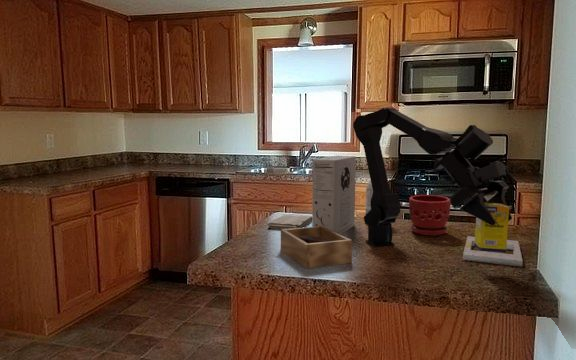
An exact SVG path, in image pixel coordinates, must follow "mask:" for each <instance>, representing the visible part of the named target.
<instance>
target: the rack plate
mask: <svg viewBox="0 0 576 360" xmlns="http://www.w3.org/2000/svg"><path fill="white" fill-rule="evenodd" d="M465 241H466V242H465V246H464V249H463V255H462V261H468V262H477V263H478V262H479V263H487V264H494V265H495V264H497V265H503V266H504V265H505V266H511V267H512V266H514V267H523V262H524V261H523V257H522V256H523V255H522V251H521V247H520V243H519V241H518V240H511V239H507V246H506V250H512V252H513V254H512V253H505V252H490V251H480V250H474V249H472V247H476V246H475V245H474V243H475V236H470V235H469V236H467V237H466V240H465Z"/></svg>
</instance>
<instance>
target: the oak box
mask: <svg viewBox="0 0 576 360" xmlns="http://www.w3.org/2000/svg"><path fill="white" fill-rule="evenodd" d="M303 235H308V236H313V237H317V238H323V239H328V240H332V241H329V242H319V243H309V244H308V243H306V242H305V241H303V240H301V239H299V238H298V237H300V236H303ZM280 251H281V252H283V253H284V254H285V255H287V256H288V257H289V258H291V259H292V260H293V261H295V262H296V263H298V264H299V265H301V266H302V267H304V269H311V268H319V267H320V268H321V267H329V266H335V265H345V264H351V263H352V262H353V259H352V258H353V240H352V239H351V238H348V237H346V236H344V235H342V234H338V233H336V232H334V231H331V230H329V229H327V228H325V227H323V226H316V227H312V226H309V227H308V226H305V227H304V228H293V229H282V230H280Z"/></svg>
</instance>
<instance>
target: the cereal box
mask: <svg viewBox="0 0 576 360" xmlns="http://www.w3.org/2000/svg"><path fill="white" fill-rule="evenodd" d="M356 158H357V157H356V156H355V155H332V156H325V157H321V158H320V157H319V158H315V159H314V158H313V159H312V194H311V195H312V197H311V198H312V199H311V200H312V201H311V202H312V203H311V205H312V209H311V210H312V211H311V213H312V215H311V216H312V222H311V223H312V224H311V227H316V226H323V227H325V228H327V229H329V230H331V231H334V232H336V233H338V234H340V235H342V234H343V233H345V232H347V231H348V230H349V229H352V228H354V227H355V223H356V222H355V219H356V218H355V217H356V216H355V214H356V206H355V205H356V204H355V203H356V168H357V166H356V165H357V163H356V162H357V159H356Z"/></svg>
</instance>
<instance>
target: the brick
mask: <svg viewBox="0 0 576 360" xmlns="http://www.w3.org/2000/svg"><path fill="white" fill-rule="evenodd" d="M298 238H299V239H301V240H303V241H305V242H306V243H308V244H309V243H319V242H329V241H332V240H328V239H323V238H317V237H313V236H308V235H303V236H300V237H298Z"/></svg>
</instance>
